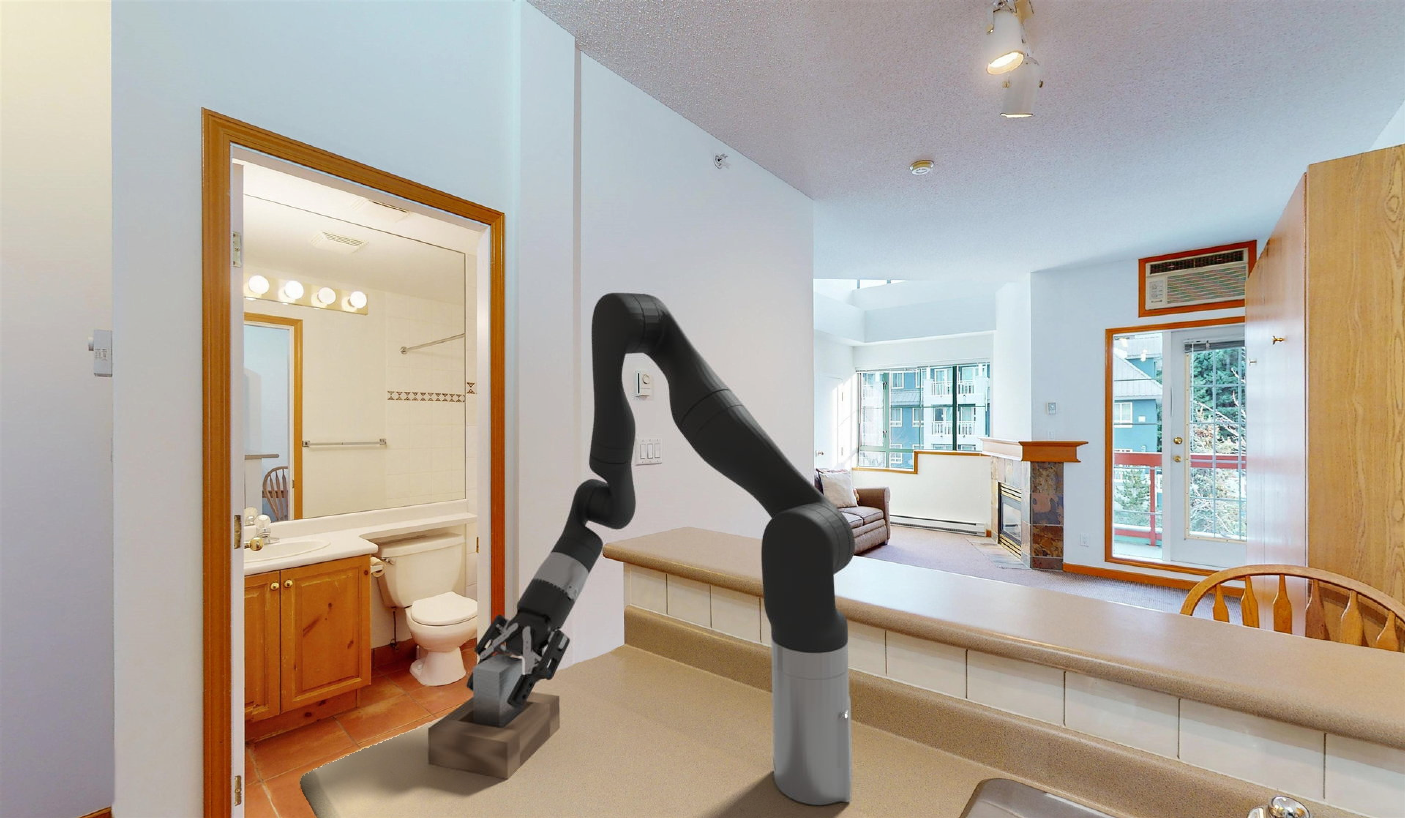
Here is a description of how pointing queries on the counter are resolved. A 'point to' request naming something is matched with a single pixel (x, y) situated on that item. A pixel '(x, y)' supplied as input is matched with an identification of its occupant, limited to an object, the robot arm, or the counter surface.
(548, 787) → the counter surface
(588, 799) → the counter surface
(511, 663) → the grey square pillar
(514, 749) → the well block
